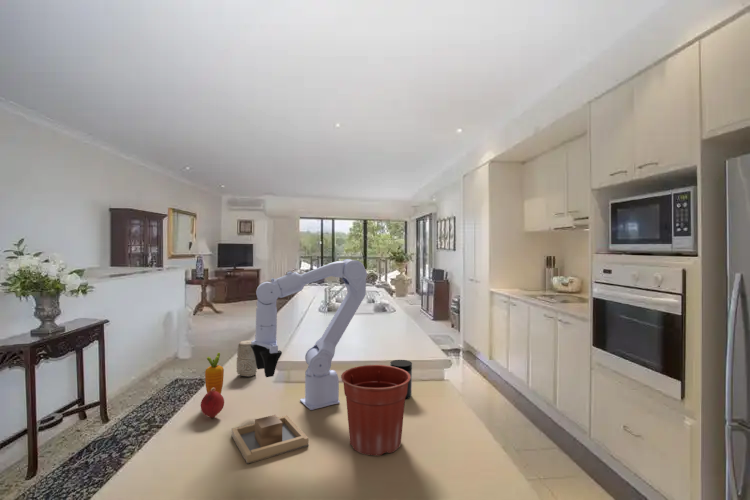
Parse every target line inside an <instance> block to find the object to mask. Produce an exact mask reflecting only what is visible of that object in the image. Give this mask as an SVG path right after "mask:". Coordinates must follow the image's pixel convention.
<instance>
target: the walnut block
mask: <svg viewBox="0 0 750 500" xmlns="http://www.w3.org/2000/svg"><path fill="white" fill-rule="evenodd" d="M254 423H255V439H256V441H257V442H258V444H259V445H260V447H264V446H268V445H271V444H275V443H278V442H282V422H281V420H280V419H279V418H278V416H277V415H276V414H273V415H268V416H264V417H260V418H255V419H254Z"/></svg>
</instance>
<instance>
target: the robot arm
mask: <svg viewBox="0 0 750 500" xmlns="http://www.w3.org/2000/svg"><path fill="white" fill-rule="evenodd" d="M329 277H334V278H340V279H342V280H343V282H344V284H345V288H346V291H347V293H346V295H345V296H344V297H343V300H342V302H341V303H340V304H339V306H338V308H337V310H336V312H335V313H334V315H333V317H332V318H331V320H330V322H329V324H328V325H327V327H326V329H325V330H324V332H323V334H322V336H321V337H319V339H317V341H316V342H315V343H314V345H313V346H312V347H310V348H308V349H307V351H306V353H305V357H304V359H305V362H306V364H307V365H308V366H307V368H306V370H305V376H304V380H305V381H304V385H305V386H304V389H305V390H304V395H305V396H304V397H303V398H300V399H299V401H300V402H301V403H302V404H303V405H304V406H305V407H307V408H308V409H309V410H311V411H313V410H317V409H321V408H325V407H329V406H333V405H338V404H340V402H341V401H340V400H339V395H340V392H339V391H340V389H339V388H340V385H339V382H340V381H339V380H340V379H339V375H338V373H337V371H336V370H335V369H331V368H332V361H333V358H334V357H335V353H336V348H337V345H338V344H339V342H340V340H341V339H342V337H343V335H344V333H345V332H346V330H347V328H348V326H349V325H350V322H351V321H352V319H353V317H354V315H355V314H356V313H357V310H358V309H359V307H360V306H361V304H362V302H363V301H364V299H365V297H366V295H367V290H366V289H367V277H368V273H367V270H366V268H365V266H364V263H362V262H361V261H360V260H359V259H358V260H356V259H351V258H346V259H343V260H337V261H333V262H330V263H327V264H325V265H321V266H320V267H316V268H314V269H312V270H309V271H307V272H304V273H302V274H301V273H299V272H297V271H294V272H292V271H288V272H286V274H285V275H282V276H280V277H278V278H274V277H272V278H270V281H264V282H261V283H260V284H259V285H258V286H257V288H256V291H255V293H256V298H257V301H256V306H257V307H256V308H255V335H254V339H253V341H251V344H252V345H251V348H252V350H253V352H254V356H255V360H256V365H257V370H264V371H263V372H264V376H265V378H271V377H274V376H275V372H276V368H277V364H278V362H279V360H280V358H281V356H282V353H283V352H282V351H281V350H279V345H278V338H277V330H278V329H277V325H278V324H277V323H278V319H277V318H278V308H277V300H278V299H279V298H280V299H282V298H285V297H288V296H290V295H294V294H296V293H298V292H301V291H303V290H304V288H305V285H308V284H311V283H315V282H317V281H320V280H324V279H327V278H329Z"/></svg>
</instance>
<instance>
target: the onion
mask: <svg viewBox="0 0 750 500" xmlns="http://www.w3.org/2000/svg"><path fill="white" fill-rule="evenodd" d="M215 390H216V388H212V389H211V390H210V392H208V393H207V392H206V394H205V395H204V396H203V398H202V399H201V402H200V411H201V412H202V414H203V415H204V416H206V417H208V418H210V419H214V418H215V417H216V416H217V415H218V414H219V413H221V412H222V411H223V409H224V406H225V398H224V397H223V395H222V393H221V394H220V393H219V392H217V391H215Z"/></svg>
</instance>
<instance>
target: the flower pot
mask: <svg viewBox="0 0 750 500" xmlns="http://www.w3.org/2000/svg"><path fill="white" fill-rule="evenodd" d="M340 378H341V379H340V380H341V381H342V384H343V392H344V396H345V398H346V399H345V400H346V410H347V421H348V422H347V423H348V435H349V444H350V445H351V446H352V448H353V450H354V451H356V452H358V453H360V454H363V455H367V456H383V454H385V453H387V454H388V453H389V454H392V453H394V452H395V451H397V450H398V449H399V448H400V446H401V444H402V434H403V425H404V424H403V423H404V414H405V403H406V400H405V397H406V395H407V388H408V382H409V381H410V378H411V376H410V374H409V373H408V372H407V371H405V370H403V369H400V368H397V367H393V366H390V365H383V364H367V365H360V366H354V367H351V368H348V369H346V370H345V371H343V372H342V373H341V374H340Z"/></svg>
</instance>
